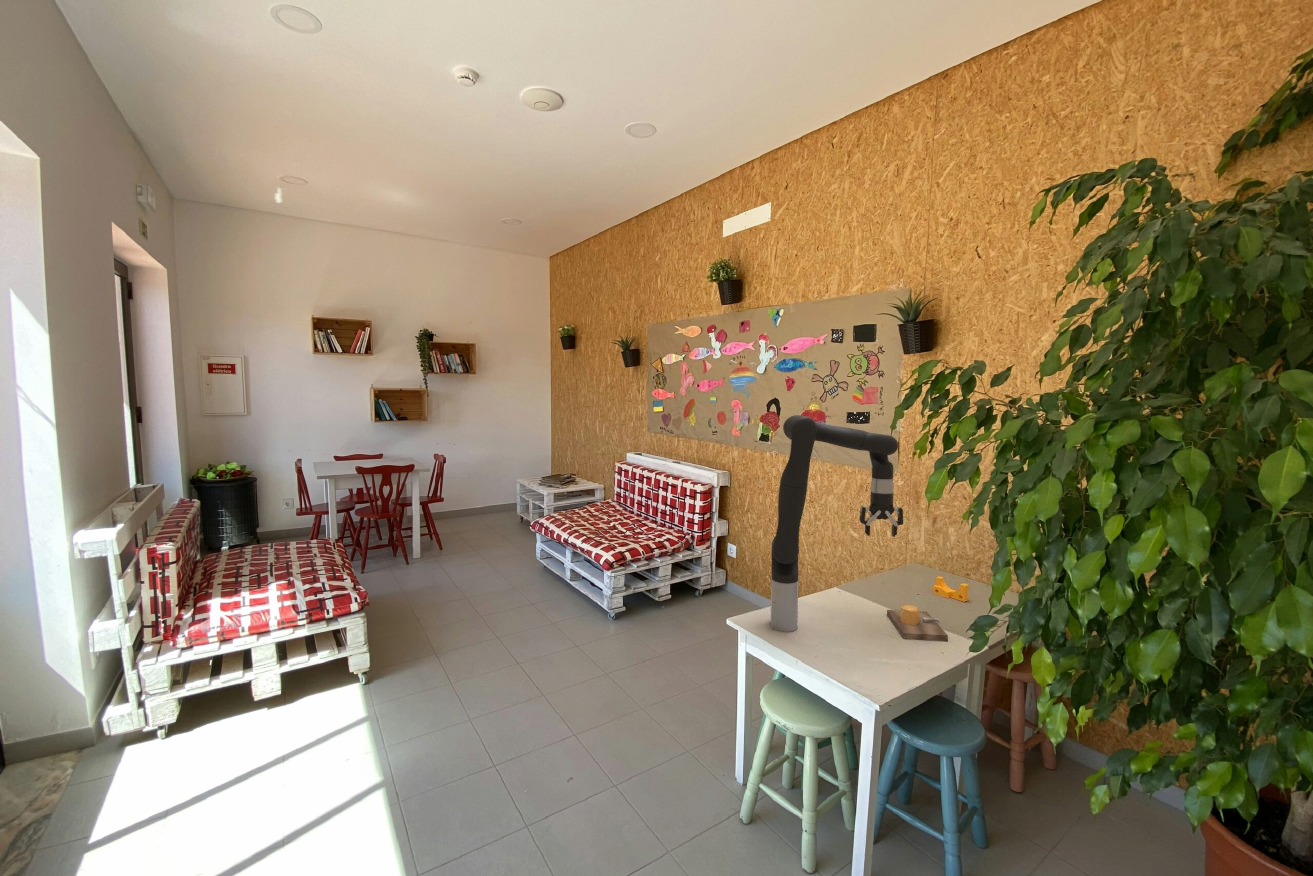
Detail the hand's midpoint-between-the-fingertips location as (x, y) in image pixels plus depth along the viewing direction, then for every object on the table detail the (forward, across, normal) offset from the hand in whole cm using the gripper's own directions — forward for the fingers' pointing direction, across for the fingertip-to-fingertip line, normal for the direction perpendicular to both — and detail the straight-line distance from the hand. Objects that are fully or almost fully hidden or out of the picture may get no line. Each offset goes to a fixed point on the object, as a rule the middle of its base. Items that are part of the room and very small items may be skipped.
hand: (880, 535), depth 191 cm
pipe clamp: (+32, +36, +31) cm, 57 cm away
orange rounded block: (+30, +10, -2) cm, 32 cm away
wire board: (+32, +12, -2) cm, 34 cm away
